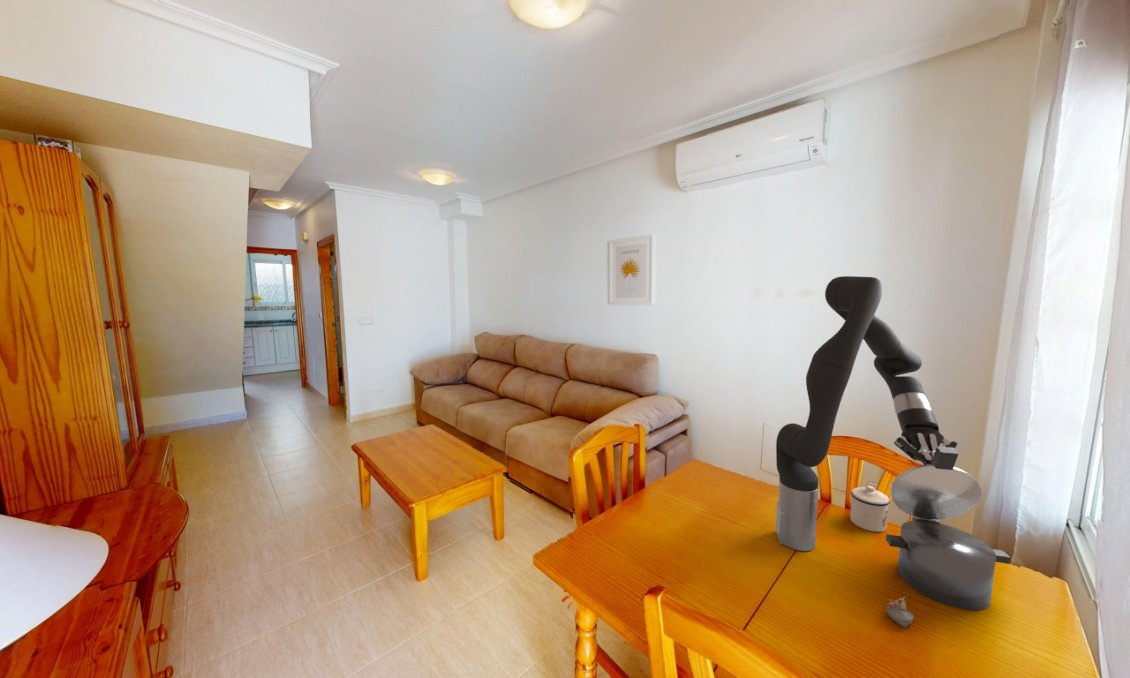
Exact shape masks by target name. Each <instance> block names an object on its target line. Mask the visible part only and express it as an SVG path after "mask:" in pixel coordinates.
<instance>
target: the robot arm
mask: <svg viewBox="0 0 1130 678" xmlns="http://www.w3.org/2000/svg"><path fill="white" fill-rule="evenodd" d="M882 296H883V284H882V281H881V280H880V279H879V278H877V277H874V276H873V277H872V276H857V275H856V276H853V275H851V276H850V275H849V276H848V275H847V276H846V275H845V276H837V277H834V278H833V279H830V281H829V283H828V284H827V285H826V287H825V292H824V298H825V301H826V303H827V304H828V306H829V307H830V308H831V309H832V310H833V311H834V312H835V313H837V315H839V317H841V318H842V319H843V320H844V323H843V324H842V326H841V327H840V328H839V330H838V331H837V332H836V333H835V334H833V336H831V337H830V338H829V339H828V340H827V341H825V342H824V343H823V344H822V345H820V347H819V348H817V350H816V351H815V352H814V354H813V355H812V358H811V360H810V364H809V367H808V369H807V372H806V377H805V384H806V385H805V386H806V391H807V396H808V402H809V412H808V413H809V414H808V418H807V421H806V424H805V426H803V425H800V424H798V423H787V424H785V425H784V426H782V427H781V428H780V430H779V431H778V434H777V437H776V443H775V446H776V447H775V451H776V452H775V454H776V455H775V456H776V457H775V460H776V471H777V472H778V476H779V484H778V501H776V511H775V512H776V516H775V517H776V518H775V519H776V520H775V521H776V522H775V535H776V537H777V540H778V544H779V545H781V546H786V547H788V548H790V549H792V550H795V551H800V552H809V551H812V550H814V549H815V547H816V539H817V537H816V536H817V535H816V534H817V515H818V514H817V513H818V499H819V498H818V497H819V477H818V475H817V473H816V472H815V471H814V470H813V469H812V468H815V467H817V466H819V465H820V464H821V463H822V462H823V461H824V460H825V458H826V457H827V454H828V452H829V448H830V445H831V441H832V435H833V430H834V427H835V423H836V419H837V415H838V411H839V408H840V405H841V403H842V400H843V396H844V393H845V390H846V388H847V385H848V383H849V380H850V377H851V375H852V371H853V369H854V365H855V362H856V359H857V357H858V353H859V351H860V348H861V345H862V342H863V340H864V342H865V343H866V345H867V346H868V348H869V349H870V351H871V352H872V354H873V355H874V356H875V358H874V359H873V365H874V368H875V370H876V371H877V373H878V374H879V375H880V376H881V377H882V379H883V380H884V382H886V385H887V386H888V389H889V391H890V395H891V398H892V402H893V407H894V412H895V414H896V417H897V421H898V423H899V426H900V430H901V431H902V432H901V435H900V437H897V438H896V439H895V440H894V442H893V445H895V446H896V447H897V448H899V449H900V451H902V452H903V453H904V454H905V455H907V456H908V457H909V458H911V460H913V461H918V462H921V463H922V465H928V464H932V463H931V462H932V459H933V457H934V454H935V451H936V448H937V447H949V448H954V449H955V450H956V447H957V446H958V442H956V441H954V440H953V441H950V440H949V439H946V438H945V436H944V434H943V433H941V431H940V429H939V424H938V421H937V420H936V417H935V414H934V411H933V408H932V406H931V404H930V401H929V400H928V398H927V397H926V393H925V391H924V388H923V385H922V383H921V381H920V380H919V379H918V378H917V377H915V376H907V375H906V376H905V374H909V373H914V372H918V370H920V369H921V367H922V362H923V361H922V358H921V356H920V355H919V354H918V352H917V351H915V350H914V348H912V347H910V346H909V345H907V344H905V343H904V342H903V341H901V340H900V338H899V337H898V335H897V334H896V332H895V330H894V329H893V328H892V327H891V326H890V325H889V324H888V323H887V322H885V321H884V320H883V319H882V318H880V317H878V316H876V311H877V310H878V307H879V305H880V302H881V300H882ZM902 375H903V376H902ZM941 445H942V446H941Z"/></svg>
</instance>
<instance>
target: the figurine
mask: <svg viewBox="0 0 1130 678" xmlns="http://www.w3.org/2000/svg"><path fill="white" fill-rule="evenodd" d="M908 599H909V598H908V596H907V595H904V596H903V598H902V597H900V598H899V599H896V600H893V599H889V601H890V602H887V604H886V605H887V606H886V611H887V612H886V613H887V615H888V616H889V617H890V618H891V619H892V621H893V622H895V623H896V624H898V625H900V626H901V627H903V628H908V625H910V624H912V623H913V619H914V618H915V616H914V614H913V613H912V612H911V611H909V610H908V609H907V608H908V606H907V601H908ZM899 601H901V602H899Z"/></svg>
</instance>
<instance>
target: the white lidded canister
mask: <svg viewBox="0 0 1130 678" xmlns="http://www.w3.org/2000/svg"><path fill="white" fill-rule="evenodd" d="M850 496H851V500H850V517H849V518H850V521H851V522H852V523H853V524H854V526H857V527H859V528H860V529H863V530H864V531H865V530H866V531H868V532H869V531H870V532H874V533H875V532H876V533H880V532H881V533H882V532H885V531H886V530H887V527H888V517H889V516H888V514H889V504H890V503H891V501H890V499H889V497H888V496H887V494H884V493H883V492H881V491H879V490H876V489H875V487H874V486H872V485H867V486H865V487H862V486H861V487H854V488H852V490H851V492H850Z"/></svg>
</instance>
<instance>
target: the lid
mask: <svg viewBox="0 0 1130 678" xmlns="http://www.w3.org/2000/svg"><path fill="white" fill-rule="evenodd" d="M958 456H959V452H958V451H957V450H956V448H955V449H954V448H949V447H942V446H939V447H937V448H936V451H935V454H934V457H933V459H932V462H931V463H932V464H928V465H924V464H922V465H918V466H914V467H910V468H909V469H907V470H904V471H902V472H901V473H900V474H898V475H896V477H895V478H893V481H891V485H890V487H889V493H890V496H891V499H892V501H893V503H894V504H895V505H896V507H897V508H898V509H899V510H901V511H902V512H904V513H905V514H907V515H910V516H915V517H918V518H923V519H934V520H938V521H939V520H945V519H946V520H948V519H952V518H956V517H960V516H962V515H964V514H965V515H966V514H967V513H968V512H970V511H971V510H973V509H974V508H975V507H976V506H977V505H978V503H980V500H981V497H982V488H981V486H980V484H979V483H978V481H977V479H975V478H974V477H973V476H972V475H971V474H970V473H969V472H967V471H965V470H964V469H961V468H959V467H956V466H955V464H956V462H957V460H958Z"/></svg>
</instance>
